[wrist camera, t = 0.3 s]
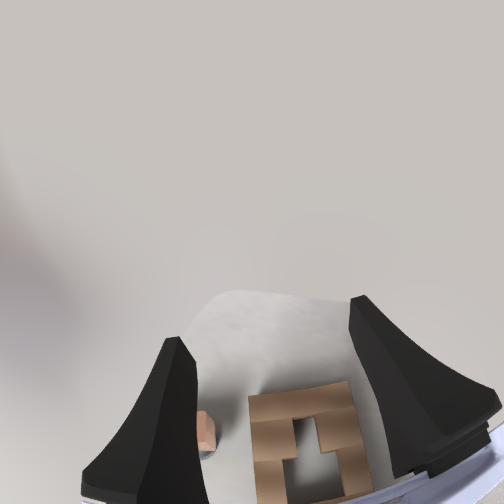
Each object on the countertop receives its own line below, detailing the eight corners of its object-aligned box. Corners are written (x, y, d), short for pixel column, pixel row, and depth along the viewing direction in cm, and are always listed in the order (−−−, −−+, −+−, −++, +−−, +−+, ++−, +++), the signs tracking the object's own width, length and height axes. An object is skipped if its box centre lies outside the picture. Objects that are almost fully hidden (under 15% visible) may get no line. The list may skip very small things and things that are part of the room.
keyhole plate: (364, 506, 17) (376, 506, 14) (262, 525, 17) (259, 529, 14) (340, 394, 28) (347, 380, 25) (251, 408, 28) (248, 395, 25)
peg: (222, 459, 23) (205, 447, 19) (176, 459, 23) (149, 445, 19) (220, 426, 26) (205, 405, 22) (176, 427, 26) (152, 405, 22)
